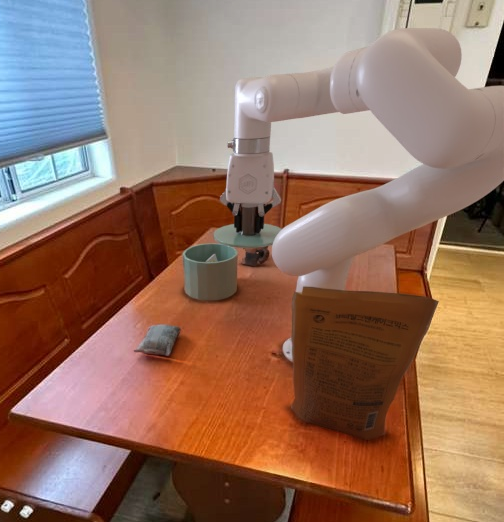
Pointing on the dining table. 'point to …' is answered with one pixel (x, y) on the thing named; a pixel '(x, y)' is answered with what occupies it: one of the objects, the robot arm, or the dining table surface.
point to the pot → (210, 271)
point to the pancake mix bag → (353, 355)
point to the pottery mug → (255, 255)
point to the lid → (247, 231)
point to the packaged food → (159, 340)
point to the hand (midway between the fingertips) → (248, 230)
